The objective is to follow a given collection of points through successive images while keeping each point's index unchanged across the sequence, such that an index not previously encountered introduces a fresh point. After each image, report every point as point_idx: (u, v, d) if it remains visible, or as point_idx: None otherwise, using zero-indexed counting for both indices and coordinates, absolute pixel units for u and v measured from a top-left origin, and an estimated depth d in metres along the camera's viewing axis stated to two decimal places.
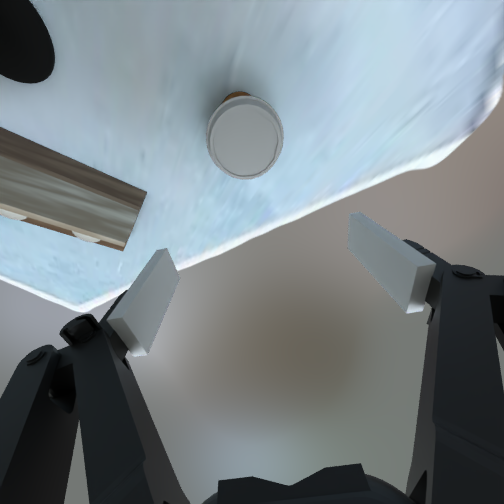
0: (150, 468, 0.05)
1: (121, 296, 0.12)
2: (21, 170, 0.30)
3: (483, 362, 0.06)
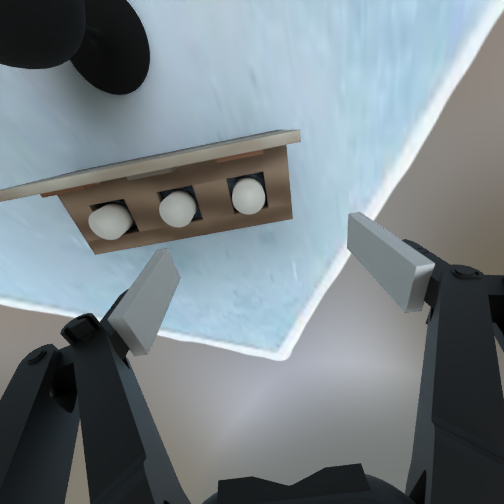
0: (150, 468, 0.05)
1: (122, 296, 0.12)
2: (166, 154, 0.26)
3: (481, 362, 0.06)
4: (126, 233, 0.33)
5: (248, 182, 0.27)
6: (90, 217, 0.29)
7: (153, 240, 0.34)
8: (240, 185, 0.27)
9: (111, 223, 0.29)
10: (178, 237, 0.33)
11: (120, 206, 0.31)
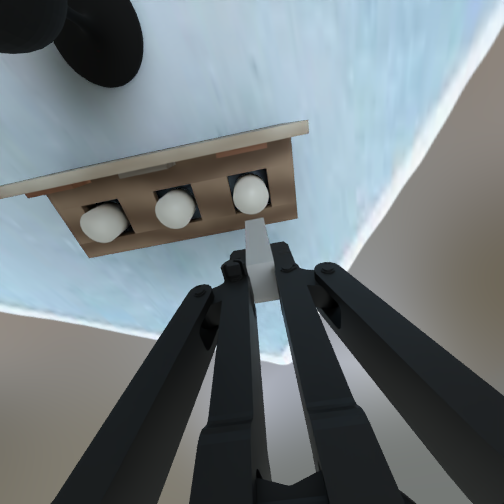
0: (254, 429, 0.05)
1: (233, 255, 0.14)
2: (162, 150, 0.25)
3: (317, 334, 0.07)
4: (121, 235, 0.31)
5: (250, 179, 0.25)
6: (82, 219, 0.27)
7: (150, 242, 0.32)
8: (242, 183, 0.26)
9: (104, 225, 0.27)
10: (176, 239, 0.32)
11: (114, 207, 0.29)
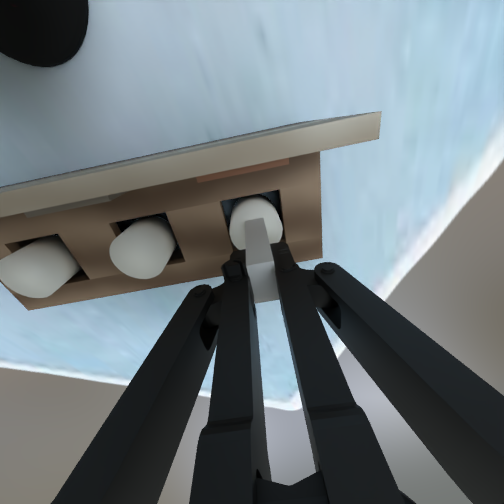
0: (254, 429, 0.05)
1: (233, 255, 0.14)
2: None
3: (317, 334, 0.07)
4: (71, 281, 0.22)
5: (255, 207, 0.17)
6: None
7: (112, 290, 0.22)
8: (242, 212, 0.17)
9: (35, 275, 0.18)
10: (150, 286, 0.22)
11: (55, 244, 0.20)
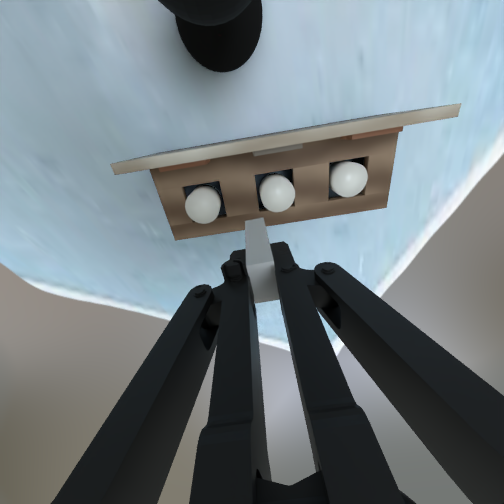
0: (254, 429, 0.05)
1: (233, 255, 0.14)
2: None
3: (317, 334, 0.07)
4: None
5: (354, 164, 0.28)
6: (188, 198, 0.27)
7: (239, 226, 0.32)
8: (346, 166, 0.28)
9: (208, 205, 0.28)
10: (265, 224, 0.32)
11: (213, 189, 0.29)
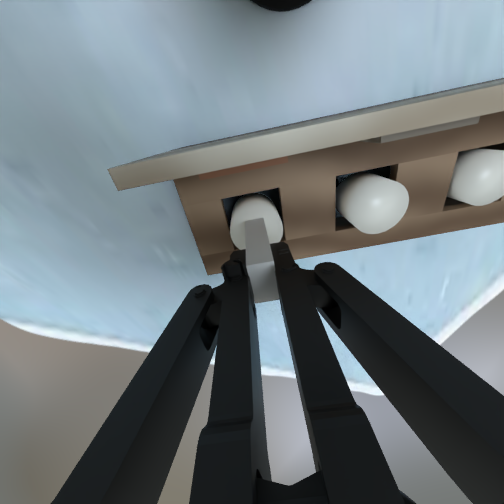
0: (254, 429, 0.05)
1: (233, 255, 0.14)
2: None
3: (317, 334, 0.07)
4: None
5: None
6: (236, 218, 0.17)
7: (301, 253, 0.22)
8: (491, 157, 0.17)
9: (267, 228, 0.18)
10: (341, 248, 0.22)
11: (268, 200, 0.19)
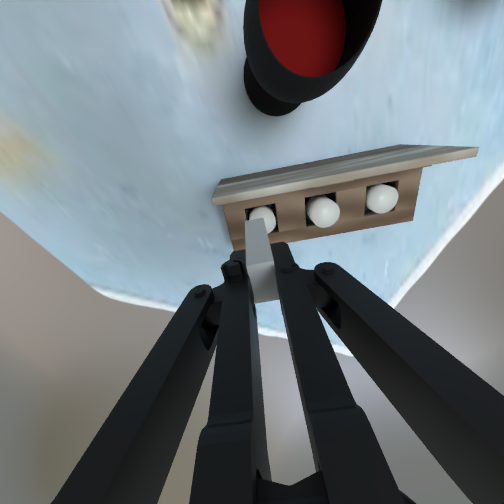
0: (254, 429, 0.05)
1: (233, 255, 0.14)
2: (329, 165, 0.32)
3: (317, 334, 0.07)
4: None
5: (388, 187, 0.34)
6: (253, 215, 0.35)
7: (288, 239, 0.38)
8: (381, 189, 0.34)
9: (267, 220, 0.35)
10: (310, 237, 0.38)
11: (268, 207, 0.37)
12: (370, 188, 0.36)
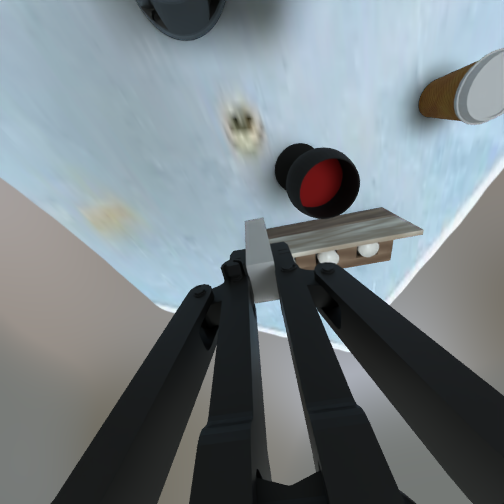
0: (254, 429, 0.05)
1: (233, 255, 0.14)
2: (332, 230, 0.48)
3: (317, 334, 0.07)
4: None
5: None
6: None
7: None
8: None
9: None
10: None
11: None
12: None
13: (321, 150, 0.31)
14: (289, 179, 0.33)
